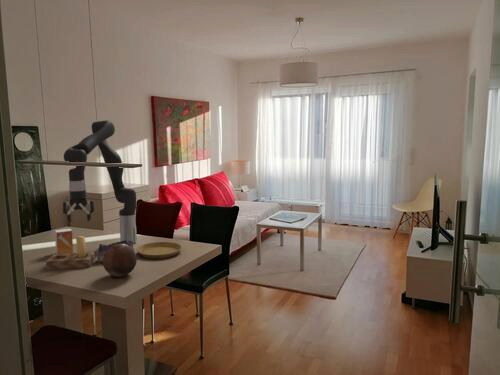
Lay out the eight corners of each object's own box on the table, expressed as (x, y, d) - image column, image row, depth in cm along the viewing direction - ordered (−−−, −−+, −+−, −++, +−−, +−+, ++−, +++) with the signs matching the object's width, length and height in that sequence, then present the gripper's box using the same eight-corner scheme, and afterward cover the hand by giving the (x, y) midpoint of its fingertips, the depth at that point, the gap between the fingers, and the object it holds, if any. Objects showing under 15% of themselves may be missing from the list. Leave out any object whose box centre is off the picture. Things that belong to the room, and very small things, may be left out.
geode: (105, 265, 199) (102, 246, 198) (93, 264, 206) (90, 245, 205) (139, 254, 214) (136, 236, 214) (126, 253, 222) (123, 235, 221)
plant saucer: (188, 255, 215) (187, 249, 214) (144, 263, 202) (143, 256, 202) (172, 245, 235) (172, 239, 235) (132, 251, 223) (131, 245, 223)
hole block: (94, 259, 207) (94, 252, 207) (89, 267, 196) (89, 259, 195) (54, 261, 204) (53, 254, 203) (46, 269, 192) (45, 261, 192)
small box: (57, 255, 214) (56, 232, 212) (55, 252, 219) (54, 230, 218) (73, 253, 218) (72, 230, 217) (71, 250, 224) (70, 228, 222)
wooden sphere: (142, 271, 190) (141, 240, 188) (128, 282, 175) (126, 249, 173) (113, 269, 192) (112, 239, 190) (97, 280, 178) (95, 248, 176)
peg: (87, 262, 203) (85, 235, 201) (85, 264, 199) (83, 237, 197) (79, 262, 202) (77, 236, 200) (77, 265, 198) (75, 238, 197)
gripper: (94, 188, 201) (96, 219, 203) (64, 188, 198) (66, 220, 200) (91, 190, 193) (92, 222, 196) (60, 191, 191) (62, 223, 193)
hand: (79, 221), depth 198 cm, fingers open, 8 cm apart
